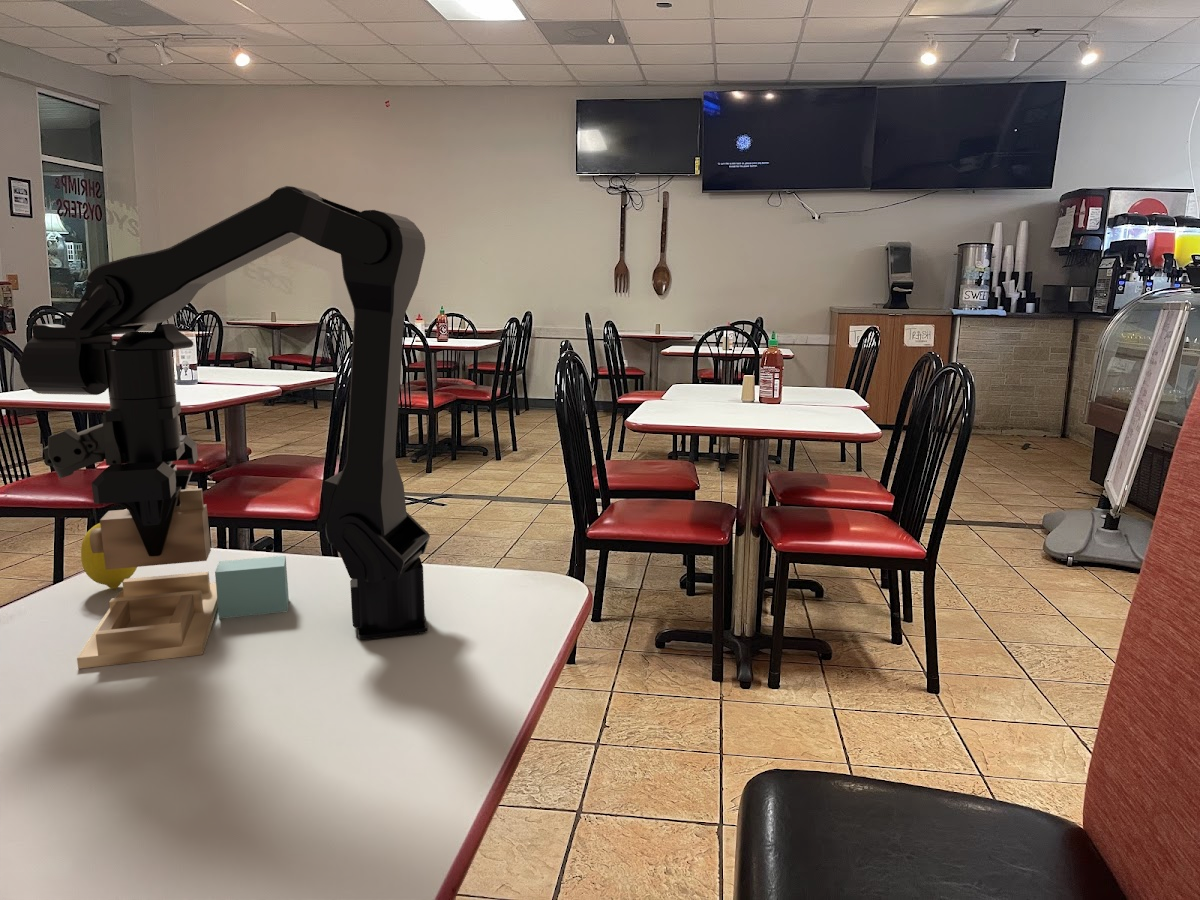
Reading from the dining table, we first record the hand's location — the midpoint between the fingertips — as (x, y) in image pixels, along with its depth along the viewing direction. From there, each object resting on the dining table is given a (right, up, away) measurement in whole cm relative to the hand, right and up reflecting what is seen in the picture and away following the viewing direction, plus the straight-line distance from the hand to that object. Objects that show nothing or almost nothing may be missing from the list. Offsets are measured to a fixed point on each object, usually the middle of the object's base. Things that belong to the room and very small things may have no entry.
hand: (158, 549), depth 86 cm
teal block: (+8, -7, +3) cm, 11 cm away
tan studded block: (0, -1, 0) cm, 1 cm away
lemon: (-9, -5, +8) cm, 14 cm away
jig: (+1, -7, -1) cm, 7 cm away
